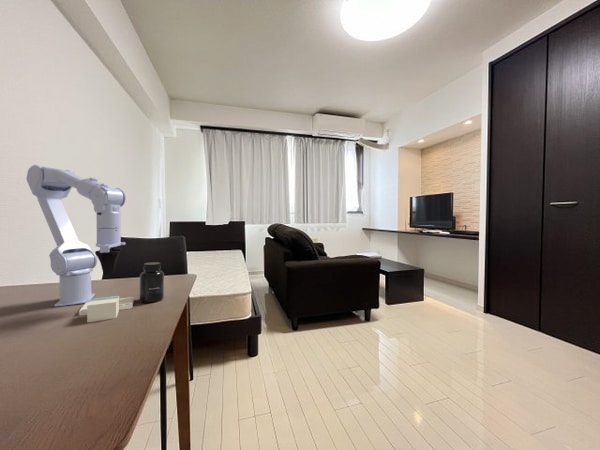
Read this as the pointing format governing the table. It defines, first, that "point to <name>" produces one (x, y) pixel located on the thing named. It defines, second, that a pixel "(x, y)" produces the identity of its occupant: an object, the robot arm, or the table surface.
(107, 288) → the table surface
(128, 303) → the ticket
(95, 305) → the teal striped cube
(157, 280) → the supplement bottle
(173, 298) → the table surface
